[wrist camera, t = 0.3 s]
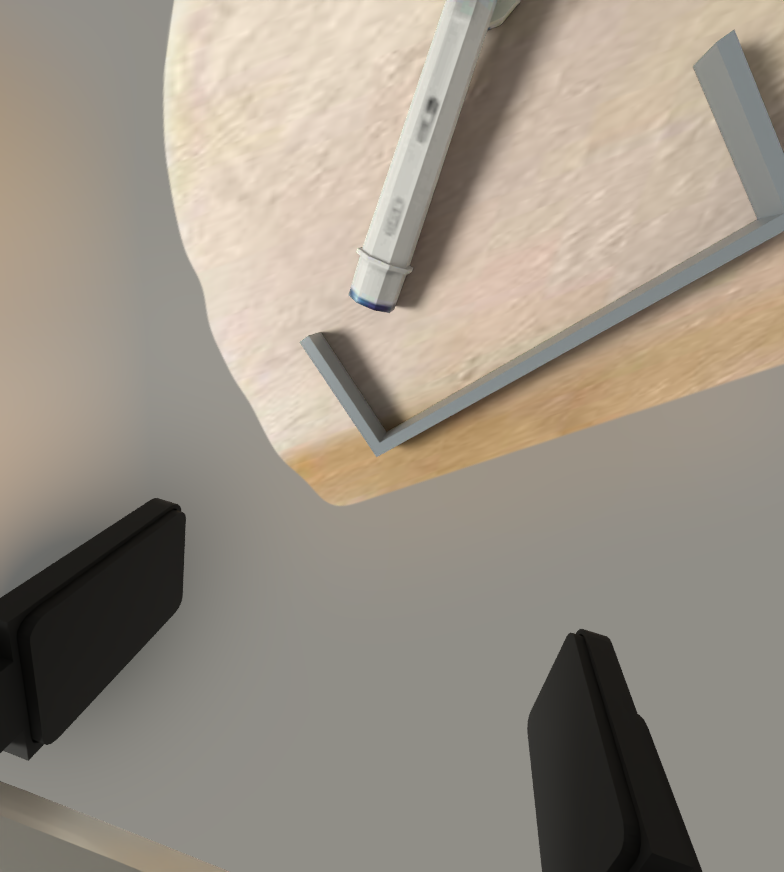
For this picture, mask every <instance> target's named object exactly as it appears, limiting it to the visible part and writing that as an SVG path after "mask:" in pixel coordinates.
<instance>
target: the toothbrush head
mask: <svg viewBox="0 0 784 872" xmlns="http://www.w3.org/2000/svg"><path fill="white" fill-rule="evenodd" d="M520 1H521V0H446V2H445V5H444V8H443V11H442V14H441V17H440V20H439V23H438V26H437V29H436V32H435V35H434V37H433V40H432V43H431V46H430V49H429V52H428V55H427V58H426V61H425V64H424V67H423V70H422V73H421V76H420V79H419V82H418V85H417V88H416V91H415V94H414V97H413V100H412V103H411V106H410V109H409V112H408V115H407V118H406V121H405V124H404V127H403V130H402V132H401V135H400V138H399V141H398V144H397V147H396V150H395V153H394V156H393V159H392V162H391V165H390V168H389V171H388V174H387V177H386V180H385V183H384V186H383V189H382V192H381V195H380V198H379V201H378V204H377V207H376V210H375V213H374V216H373V219H372V222H371V225H370V227H369V230H368V233H367V236H366V239H365V242H364V245H363V247H361V248H357V252H356V253H358V254H359V255H360V258H359V262H358V265H357V268H356V272H355V275H354V278H353V282H352V285H351V289H350V292H349V296H350V297H351V298H352V299H353V300H354V301H355V302H356V303H359V304H361V305H363V306H366V307H368V308H370V309H372V310H376V311H381V312H387V313H390V312H391V311H393V310H394V308H395V305H396V302H397V300H398V297H399V294H400V291H401V288H402V286H403V283H404V280H405V277H406V275H407V274H409V273H411V272H412V271H413V267H412V266H410V263H411V260H412V257H413V254H414V251H415V248H416V245H417V242H418V239H419V236H420V233H421V230H422V227H423V224H424V221H425V218H426V215H427V212H428V209H429V205H430V202H431V199H432V196H433V193H434V190H435V187H436V184H437V181H438V178H439V175H440V172H441V169H442V166H443V163H444V160H445V157H446V154H447V151H448V148H449V145H450V142H451V139H452V136H453V133H454V130H455V127H456V124H457V121H458V118H459V115H460V112H461V109H462V105H463V102H464V99H465V96H466V93H467V90H468V87H469V84H470V81H471V78H472V75H473V72H474V69H475V66H476V63H477V60H478V57H479V54H480V51H481V48H482V45H483V42H484V39H485V36H486V33H487V30H489V29H492V28H495V27H497V26H500V25H502V23H503V22H504V21H505V19H506V18H507V17H508V16H509V14H510V13H511V12H512V11H513V10H514V8H515V7H516V6H517V5H519V3H520Z"/></svg>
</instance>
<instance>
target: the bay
mask: <svg viewBox="0 0 784 872" xmlns="http://www.w3.org/2000/svg"><path fill="white" fill-rule="evenodd" d="M693 68H694V70H695V73H696V75H697V77H698V80H699V82H700V84H701V87H702V89H703V91H704V94H705V96H706V99H707V101H708V103H709V106H710V108H711V110H712V113H713V115H714V117H715V120H716V122H717V125H718V127H719V129H720V132H721V134H722V136H723V139H724V141H725V143H726V146H727V148H728V151H729V153H730V155H731V158H732V160H733V162H734V165H735V167H736V169H737V172H738V174H739V176H740V179H741V181H742V184H743V186H744V188H745V191H746V193H747V195H748V198H749V200H750V202H751V205H752V207H753V210H754V212H755V214H756V217H757V220H755V221H754V222H752V223H750V224H748V225H747V226H745V227H743V228H741V229H740V230H738V231H736V232H734V233H733V234H731V235H729V236H727V237H726V238H724V239H722V240H720V241H719V242H717V243H715V244H713V245H712V246H710V247H708V248H706V249H705V250H703V251H701V252H699V253H698V254H696V255H694V256H693V257H691V258H689V259H687V260H686V261H684V262H682V263H680V264H679V265H677V266H675V267H673V268H672V269H670V270H668V271H666V272H665V273H663V274H661V275H659V276H658V277H656V278H654V279H652V280H651V281H649V282H647V283H645V284H644V285H642V286H640V287H638V288H637V289H635V290H633V291H631V292H630V293H628V294H626V295H625V296H623V297H621V298H619V299H618V300H616V301H614V302H612V303H611V304H609V305H607V306H605V307H604V308H602V309H600V310H598V311H597V312H595V313H593V314H591V315H590V316H588V317H586V318H584V319H583V320H581V321H579V322H577V323H576V324H574V325H572V326H570V327H569V328H567V329H565V330H564V331H562V332H560V333H558V334H557V335H555V336H553V337H551V338H550V339H548V340H546V341H544V342H543V343H541V344H539V345H537V346H536V347H534V348H532V349H530V350H529V351H527V352H525V353H523V354H522V355H520V356H518V357H516V358H515V359H513V360H511V361H509V362H508V363H506V364H504V365H503V366H501V367H499V368H497V369H496V370H494V371H492V372H490V373H489V374H487V375H485V376H483V377H482V378H480V379H478V380H476V381H475V382H473V383H471V384H469V385H468V386H466V387H464V388H462V389H461V390H459V391H457V392H455V393H454V394H452V395H450V396H448V397H447V398H445V399H443V400H441V401H440V402H438V403H436V404H435V405H433V406H431V407H429V408H428V409H426V410H424V411H422V412H421V413H419V414H417V415H415V416H414V417H412V418H410V419H408V420H407V421H405V422H403V423H401V424H400V425H398V426H396V427H394V428H393V429H391V430H389V431H387V432H386V431H385V429H384V427H383V426H382V424H381V423H380V421H379V420H378V418H377V417H376V415H375V414H374V412H373V411H372V409H371V408H370V406H369V405H368V403H367V402H366V400H365V399H364V397H363V396H362V394H361V393H360V391H359V389H358V388H357V386H356V385H355V383H354V382H353V380H352V379H351V377H350V376H349V374H348V373H347V371H346V370H345V368H344V367H343V365H342V364H341V362H340V361H339V359H338V358H337V356H336V354H335V353H334V351H333V350H332V348H331V347H330V345H329V344H328V342H327V341H326V339H325V338H324V336H323V335H322V333H321V332H319V333H316V334H313V335H309V336H307V337H306V338H305V339H303V340H302V341H300V344H301V345H302V347H303V348H304V349H305V351H306V352H307V354H308V355H309V357H310V358H311V360H312V361H313V363H314V364H315V366H316V367H317V369H318V370H319V372H320V373H321V375H322V376H323V378H324V379H325V381H326V382H327V384H328V385H329V387H330V388H331V390H332V391H333V393H334V394H335V396H336V397H337V399H338V400H339V402H340V403H341V405H342V406H343V408H344V409H345V411H346V412H347V414H348V415H349V417H350V418H351V420H352V421H353V423H354V424H355V426H356V427H357V428H358V430H359V431H360V433H361V434H362V436H363V437H364V439H365V440H366V442H367V443H368V445H369V446H370V448H371V449H372V451H373V452H374V454H375V455H376V457H378V456H379V455H381V454H383V453H385V452H387V451H388V450H390V449H392V448H394V447H396V446H397V445H399V444H401V443H403V442H405V441H406V440H408V439H410V438H412V437H414V436H415V435H417V434H419V433H421V432H423V431H425V430H426V429H428V428H430V427H432V426H434V425H435V424H437V423H439V422H441V421H443V420H444V419H446V418H448V417H450V416H452V415H453V414H455V413H457V412H459V411H461V410H462V409H464V408H466V407H468V406H470V405H471V404H473V403H475V402H477V401H479V400H480V399H482V398H484V397H486V396H488V395H489V394H491V393H493V392H495V391H497V390H498V389H500V388H502V387H504V386H506V385H507V384H509V383H511V382H513V381H515V380H516V379H518V378H520V377H522V376H524V375H525V374H527V373H529V372H531V371H533V370H534V369H536V368H538V367H540V366H542V365H543V364H545V363H547V362H549V361H551V360H552V359H554V358H556V357H558V356H560V355H561V354H563V353H565V352H567V351H569V350H570V349H572V348H574V347H576V346H578V345H579V344H581V343H583V342H585V341H587V340H588V339H590V338H592V337H594V336H596V335H597V334H599V333H601V332H603V331H605V330H606V329H608V328H610V327H612V326H614V325H615V324H617V323H619V322H621V321H623V320H625V319H626V318H628V317H630V316H632V315H634V314H635V313H637V312H639V311H641V310H643V309H644V308H646V307H648V306H650V305H652V304H653V303H655V302H657V301H659V300H661V299H662V298H664V297H666V296H668V295H670V294H671V293H673V292H675V291H677V290H679V289H680V288H682V287H684V286H686V285H688V284H689V283H691V282H693V281H695V280H697V279H698V278H700V277H702V276H704V275H706V274H707V273H709V272H711V271H713V270H715V269H716V268H718V267H720V266H722V265H724V264H725V263H727V262H729V261H731V260H733V259H734V258H736V257H738V256H740V255H742V254H743V253H745V252H747V251H749V250H751V249H752V248H754V247H756V246H758V245H760V244H761V243H763V242H765V241H767V240H769V239H770V238H772V237H774V236H776V235H778V234H779V233H781V232H783V231H784V153H783V150H782V148H781V145H780V143H779V140H778V138H777V135H776V133H775V130H774V128H773V125H772V123H771V120H770V118H769V115H768V113H767V110H766V108H765V105H764V103H763V100H762V98H761V95H760V93H759V90H758V88H757V85H756V83H755V80H754V78H753V75H752V73H751V70H750V68H749V65H748V63H747V60H746V58H745V55H744V53H743V50H742V48H741V45H740V43H739V40H738V38H737V35H736V33H735V30H733V31H731V32H730V33H729V34H727V35H726V36H724V37H723V38H722V39H720V40H719V41H718V42H716V43H715V44H714V45H713V46H712V47H711V48H710V49H709V50H708V51H707V52H706V53H705V54H704V55H703V56H702V57H701V58H700V60H699V61H698V62H697V63H696V64H695V65H694V66H693Z"/></svg>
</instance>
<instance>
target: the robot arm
mask: <svg viewBox="0 0 784 872" xmlns="http://www.w3.org/2000/svg"><path fill="white" fill-rule="evenodd" d="M185 523H186V517H185V514H184V513H183V512H181V508H180V506H179V505H178V504H174V503H172V502H168V501H165V500H162V499H159V498H154V499H152V500H150V501H148V502H147V503H145V504H144V505H142V506H141V507H139V508H138V509H136V510H135V511H133V512H132V513H130V514H128V515H127V516H125V517H124V518H122V519H121V520H119V521H118V522H116V523H115V524H113V525H112V526H110V527H108V528H107V529H105V530H104V531H102V532H101V533H99V534H98V535H96V536H95V537H93V538H92V539H90V540H89V541H87V542H86V543H84V544H83V545H81V546H79V547H78V548H76V549H75V550H73V551H72V552H70V553H69V554H67V555H66V556H64V557H62V558H61V559H59V560H58V561H56V562H55V563H53V564H52V565H50V566H49V567H47V568H46V569H44V570H43V571H41V572H40V573H38V574H36V575H35V576H33V577H32V578H30V579H29V580H27V581H26V582H24V583H23V584H21V585H20V586H18V587H16V588H15V589H13V590H12V591H10V592H9V593H8V594H6V595H4V596H3V597H1V598H0V753H1V752H2V751H3V750H4V751H5V752H8V753H11V754H13V755H16V756H18V757H21V758H23V759H26V760H29V759H30V758H31V757H32V756H33V755H34V754H35V753H36V752H37V751H38V750H39V749H40V748H41V747H42V746H43V745H44V744H46V745H48V744H51V743H53V742H54V741H55V740H56V739H58V738H59V737H60V736H61V735H62V734H63V732H64V731H65V730H66V729H67V728H68V727H69V726H70V725H71V724H72V723H73V721H75V720H76V719H77V717H78V716H79V715H80V714H81V713H82V712H83V711H84V710H85V709H86V708H87V707H88V706H89V705H90V703H91V702H92V701H93V700H94V699H95V698H96V697H97V696H98V695H99V694H100V693H101V692H102V691H103V689H104V688H105V687H106V686H107V685H108V684H109V683H110V682H111V681H112V680H113V679H114V678H115V677H116V675H118V673H119V672H120V671H121V670H122V669H123V668H124V667H125V666H126V665H127V664H128V663H129V662H130V661H131V660H132V658H133V657H134V656H135V655H136V654H137V653H138V652H139V651H140V650H141V649H142V648H143V647H144V646H145V645H146V643H147V642H148V641H149V640H150V639H151V638H152V637H153V636H154V635H155V634H156V633H157V631H159V629H160V628H161V627H162V626H163V625H164V624H165V623H166V622H167V621H168V620H169V619H170V618H171V617H172V616H173V614H174V613H175V612H176V611H177V609H178V608H179V606H180V603H181V601H182V595H183V572H184V571H183V570H184V547H185ZM527 729H528V741H529V751H530V760H531V770H532V779H533V789H534V798H535V808H536V818H537V826H538V837H539V845H540V855H541V865H542V872H702V870H701V867H700V864H699V862H698V859H697V856H696V853H695V851H694V848H693V845H692V843H691V840H690V838H689V835H688V832H687V830H686V827H685V824H684V822H683V819H682V816H681V814H680V811H679V808H678V806H677V803H676V801H675V798H674V795H673V793H672V790H671V787H670V785H669V782H668V779H667V777H666V774H665V771H664V769H663V766H662V763H661V761H660V758H659V756H658V753H657V750H656V748H655V745H654V743H653V740H652V737H651V734H650V732H649V729H648V727H647V725H646V723H645V721H644V719H643V718H642V717H641V716H640V715H638V714H637V711H636V708H635V706H634V703H633V700H632V697H631V695H630V692H629V689H628V687H627V684H626V681H625V678H624V675H623V673H622V670H621V667H620V664H619V662H618V659H617V656H616V653H615V651H614V648H613V645H612V643H611V641H610V639H609V638H608V637H607V636H603V635H600V634H597V633H594V632H590V631H587V630H584V629H580V630H578V631H577V633H576V634H574V633H569V634H568V636H567V637H566V639H565V641H564V643H563V645H562V647H561V650H560V652H559V654H558V656H557V658H556V660H555V662H554V664H553V666H552V668H551V670H550V673H549V674H548V677H547V679H546V681H545V683H544V685H543V687H542V689H541V691H540V693H539V695H538V698H537V700H536V702H535V704H534V706H533V708H532V710H531V712H530V715H529V719H528V728H527ZM0 872H229V871H227V870H224V869H222V868H219V867H217V866H214V865H211V864H209V863H207V862H204V861H201V860H199V859H197V858H194V857H192V856H189V855H187V854H184V853H182V852H179V851H177V850H174V849H171V848H169V847H167V846H164V845H162V844H159V843H157V842H154V841H152V840H149V839H147V838H144V837H142V836H139V835H137V834H134V833H131V832H129V831H126V830H124V829H121V828H119V827H116V826H114V825H111V824H108V823H106V822H104V821H101V820H98V819H96V818H93V817H91V816H88V815H86V814H83V813H81V812H78V811H76V810H73V809H71V808H68V807H66V806H63V805H61V804H58V803H56V802H53V801H50V800H48V799H45V798H43V797H40V796H38V795H35V794H33V793H30V792H28V791H25V790H22V789H19V788H17V787H14V786H12V785H9V784H6V783H3V782H1V781H0Z"/></svg>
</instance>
